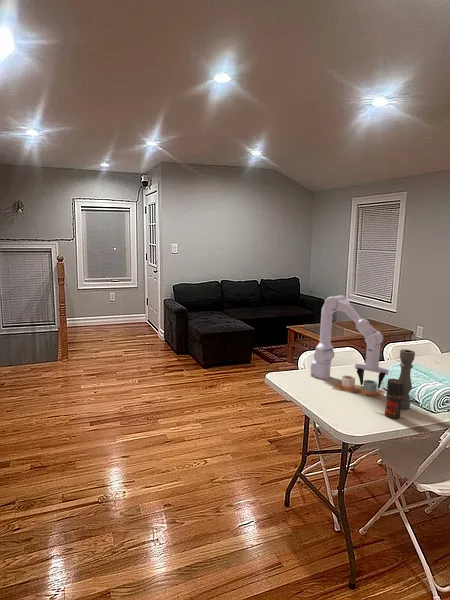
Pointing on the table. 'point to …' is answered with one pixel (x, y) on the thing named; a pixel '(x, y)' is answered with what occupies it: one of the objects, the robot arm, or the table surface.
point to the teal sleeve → (370, 387)
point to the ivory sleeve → (348, 382)
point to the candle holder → (406, 376)
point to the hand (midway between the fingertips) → (370, 386)
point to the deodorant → (394, 398)
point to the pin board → (359, 391)
